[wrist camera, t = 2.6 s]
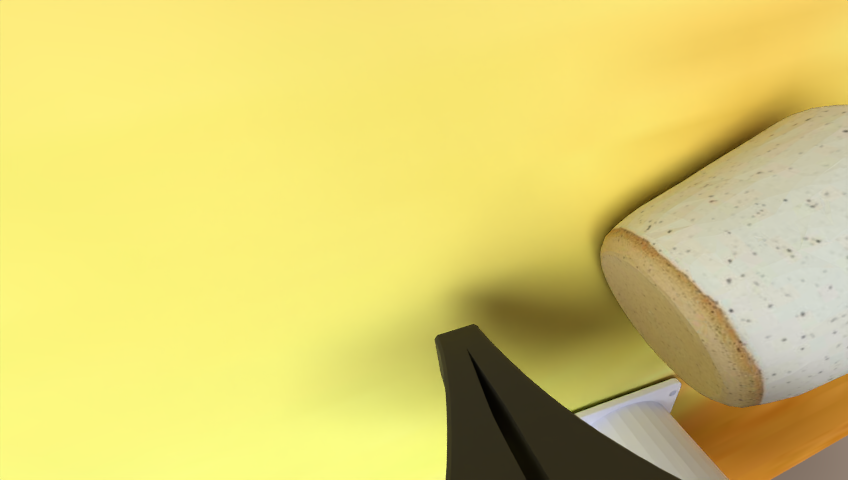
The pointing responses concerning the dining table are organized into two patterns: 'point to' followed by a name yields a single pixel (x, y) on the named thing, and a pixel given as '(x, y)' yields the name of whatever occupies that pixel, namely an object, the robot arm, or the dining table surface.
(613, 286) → the ceramic mug
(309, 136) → the dining table surface
